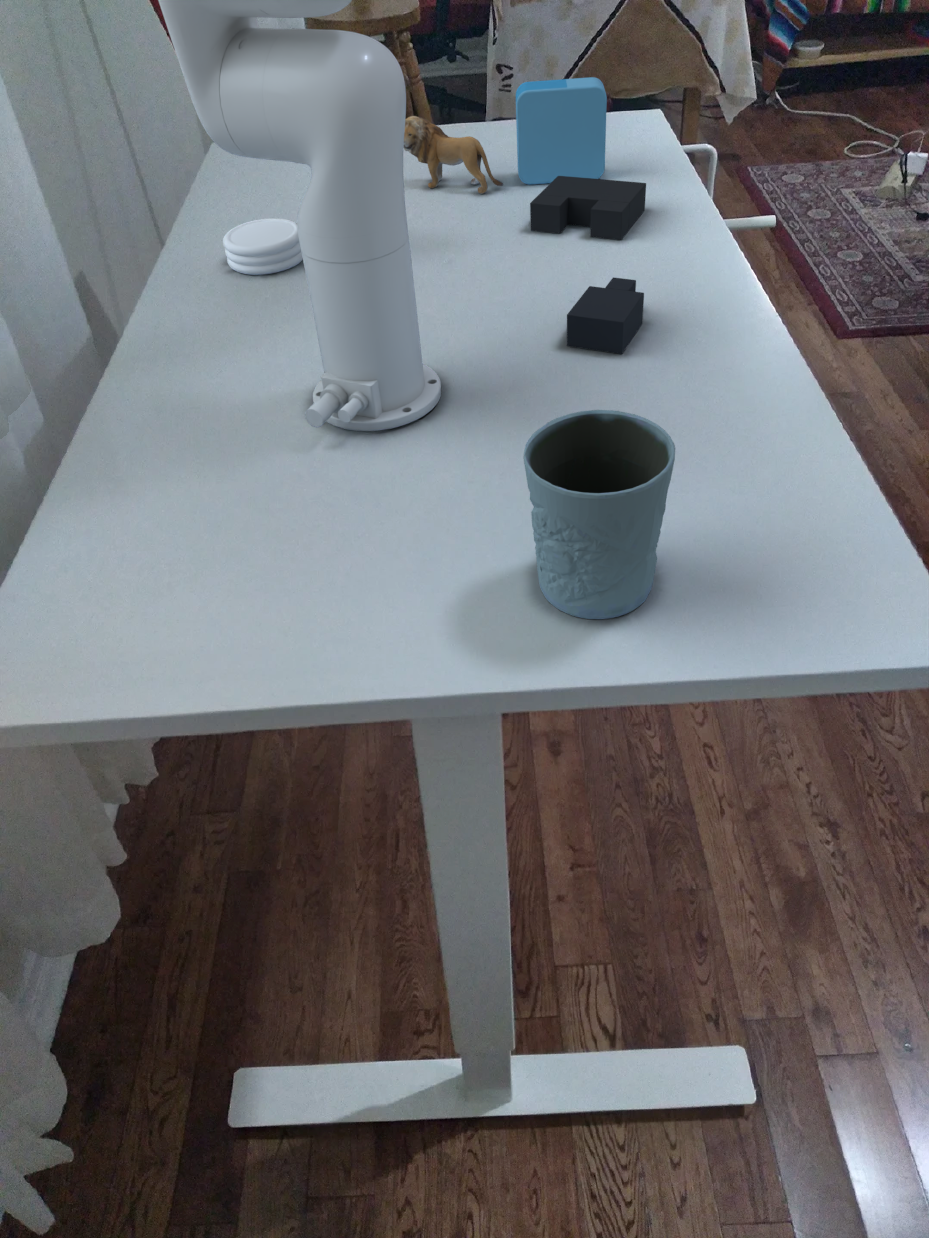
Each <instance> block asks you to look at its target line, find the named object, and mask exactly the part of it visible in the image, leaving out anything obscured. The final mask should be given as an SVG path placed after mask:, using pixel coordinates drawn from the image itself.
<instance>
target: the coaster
mask: <svg viewBox="0 0 929 1238" xmlns="http://www.w3.org/2000/svg"><path fill="white" fill-rule="evenodd" d="M222 245H223V248H224V254H225V256H226V257H227V258H226V262H227V265H228V266H229V267H230V269H232V270H233V271H235V272H236V273H237V272H238V273H240V274H245V275H252V276H262V275H263V276H265V275H271V274H276V273H281V272H283V271H287V270H289V269H291V268H294V267H296V266H298V265H299V264H300V263H301V262H303V257H302V252H301V248H300V242H299V237H298V229H297V221H294V220H290V219H286V218H275V217H274V218H271V217H270V218H261V219H260V218H259V219H255V220H250V221H247V222H244V223H241V224H238V225H236V226H234V227H233V228H231V229H230V230H228V231H227V232H226V233H225V235H224V236H223V238H222Z"/></svg>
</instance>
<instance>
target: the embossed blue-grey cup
mask: <svg viewBox="0 0 929 1238" xmlns="http://www.w3.org/2000/svg"><path fill="white" fill-rule="evenodd" d="M675 460H676V445H675V442H674V441H673V438H672V437H671V436H670V435H669V433H668V432H667V431H666V429H664V428H662V427H661V426H660V425H659V424H657V423H656V422H654V421H652V420H650V419H649V418H646V417H643V416H640V415H637V414H635V413H630V412H625V411H621V410H613V409H612V410H611V409H608V410H607V409H592V410H581V411H576V412H571V413H568V414H565V415H561V416H559V417H556V418H554V419H552V420H549V421H548V422H546V424H544V425H542V426H541V427H539V428H538V429H536V430H535V431H534V432H533V433H532V434H531V436H529V438H528V439H527V441H526V443H525V446H524V450H523V464H524V471H525V476H526V485H527V489H528V492H529V501H530V502H531V505H532V506H533V508H532V510H531V512H530V513H531V514H530V515H531V527H532V530H533V533H532V534H533V541H534V542H535V547H534V549H535V556H536V557H535V558H536V568H537V579H538V584H539V588H540V590H541V592H542V594H543V596H544V598H545V599H546V601H547V602H548V603H550V604H551V606H553V607H554V608H556V609H557V610H559V611H561V612H562V613H564V614H567V615H570V616H572V617H576V618H580V619H586V620H607V619H614V618H619V617H621V616H623V615H627V614H629V613H631V612H633V611H634V610H636V609H638V608H639V607H640V606H641V605H642V604H643V603H644V602H646V601H647V599H648V596H649V595H650V593H651V591H652V587H653V585H654V578H655V573H656V568H657V561H658V555H657V548H658V544H659V541H660V536H661V528H662V527H663V526H662V525H663V522H664V521H663V520H664V515H665V512H666V508H667V504H666V503H667V498H668V493H669V488H670V484H671V481H672V476H673V475H672V474H673V471H674V465H675Z"/></svg>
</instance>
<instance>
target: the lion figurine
mask: <svg viewBox="0 0 929 1238" xmlns="http://www.w3.org/2000/svg"><path fill="white" fill-rule="evenodd" d="M404 151H405V152H408V153H409V154H410V155H412V156H414V157H415V158H417V161H418V162H419V163H421V164H425V165H427V169H428V171H429V174H430V177H431V181H430V182H428V183H427V187H428V188H429V189H435V188H437V187H438V185H439V182H440V181H442V179H443V165H446V166H452V167H453V166H458V165H461V164H462V163H463V165H464V166H465V168H466V170H467V171H468V173H469V174H470V175H471V176H473V177H474V178H472V179H471V181H470V184H472V185H476V186H477V185H479V184H480V186H479V187H478V188H477V193H478V194H480V195H482V194H485V193H486V192H488V183H487V180H486V179H487V178H486V176H485V175H484V173H483V172H482V170H481V165H482V162H483V165H484V168H485V171H486V173H487V175H488V177H489V179H490V181H491V182H492V183H493V184H494V185H495V186H496V187H503V186H504V182H502V181H500V180H499V179H497V178H495V177H494V176H493V173H492V171H491V168H490V165H489V162H488V157H487V154H486V152H485V150H484V147H483V145H482V144H481V142H480V141H479V140H478V139H477V138H476V137H473V136H462V137H453V136H448V134H446V133H445V132H444V130H443V129H442V128H441V127H440V126H438V125H436V124H435V123H431V122H430V121H429V119H426V118H424V117H421V116H417V115H410V116H408V117H407V118H405V132H404Z"/></svg>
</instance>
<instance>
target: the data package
mask: <svg viewBox="0 0 929 1238" xmlns="http://www.w3.org/2000/svg"><path fill="white" fill-rule="evenodd" d="M607 102H608V98H607V93H606V89H605V86H604V83H603V81H601V79H600V78H597V77H594V76H591V77H575V78H561V79H549V80H533V81H525V82H522V83H521V84H520V85H519V86H518V87H517V88H516V91H515V121H516V124H515V125H516V156H517V174H518V178H519V180H520V181H521V182H522V183H524V185H525V184H526V185H530V186H531V185H545V184H550V183H551V182H552V181H553V180H554V179H555V178H556V177H557V176H568V177H580V178H592V179H601V177H602V176H603V174H604V173H605V170H606V143H607V142H606V141H607V139H606V137H607V106H608V105H607Z"/></svg>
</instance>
